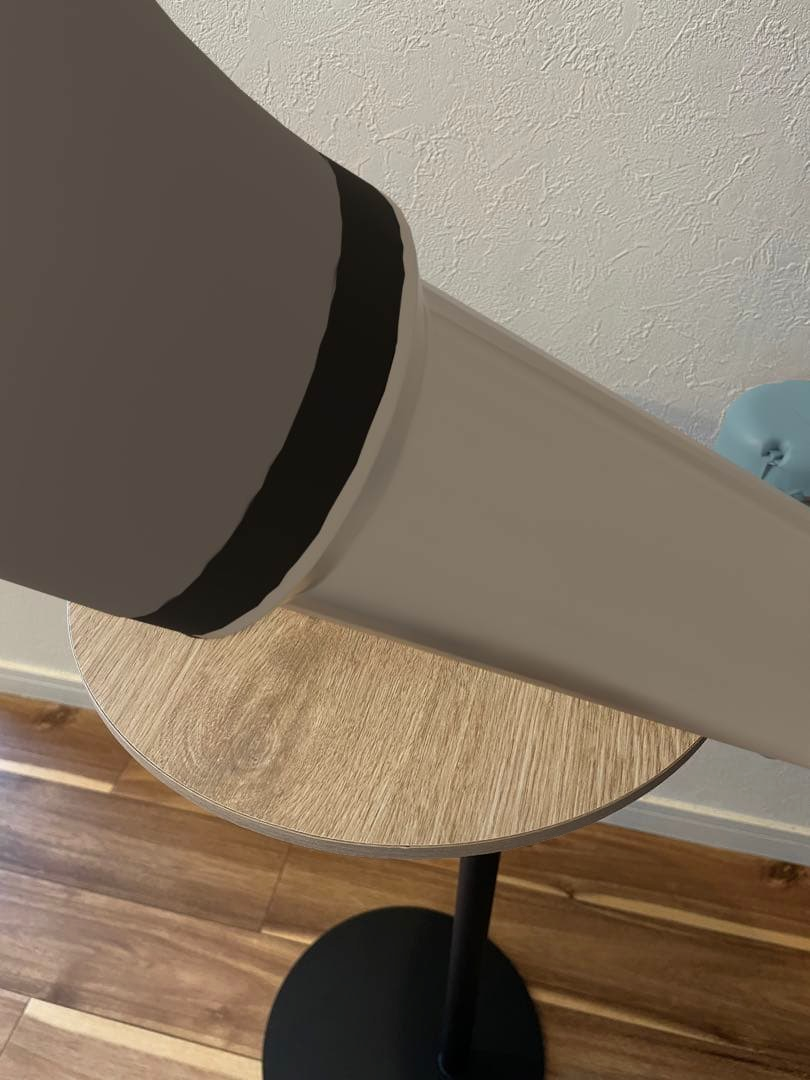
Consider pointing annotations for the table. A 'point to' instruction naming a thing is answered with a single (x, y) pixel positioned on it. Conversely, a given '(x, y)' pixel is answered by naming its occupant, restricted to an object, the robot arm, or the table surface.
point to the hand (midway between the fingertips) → (376, 391)
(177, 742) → the table surface
